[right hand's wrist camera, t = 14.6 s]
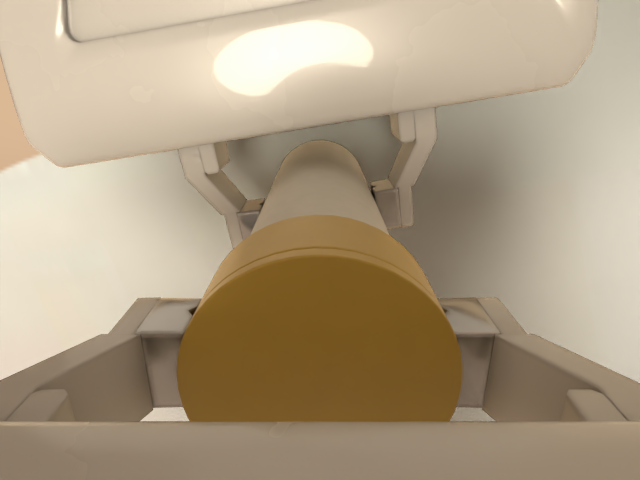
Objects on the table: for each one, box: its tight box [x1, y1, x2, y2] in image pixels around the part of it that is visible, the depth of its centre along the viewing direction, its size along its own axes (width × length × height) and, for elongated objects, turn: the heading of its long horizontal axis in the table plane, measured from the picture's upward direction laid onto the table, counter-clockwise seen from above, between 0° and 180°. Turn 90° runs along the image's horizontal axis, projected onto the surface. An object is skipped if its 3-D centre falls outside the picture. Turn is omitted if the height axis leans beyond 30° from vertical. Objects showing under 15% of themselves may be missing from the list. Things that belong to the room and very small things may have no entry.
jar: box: [251, 140, 389, 235], centre depth 16 cm, size 5×5×16 cm
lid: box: [176, 215, 463, 422], centre depth 9 cm, size 5×5×2 cm
